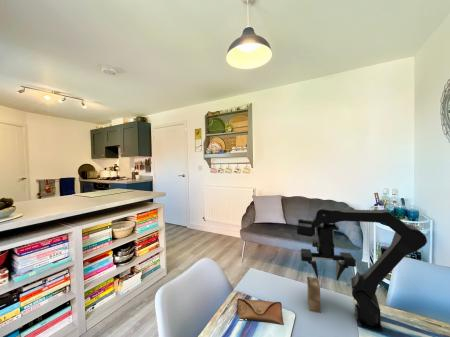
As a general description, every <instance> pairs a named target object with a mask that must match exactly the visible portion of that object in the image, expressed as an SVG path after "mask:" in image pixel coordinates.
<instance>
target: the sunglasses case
mask: <svg viewBox="0 0 450 337" xmlns="http://www.w3.org/2000/svg"><path fill="white" fill-rule="evenodd" d="M236 302H237V303H236V316H237V315H238V317H239V319H244V320H243V321H247V320H252V321H251V322H259V323H260V322H261V323H269V324H270V323H271V324H275V325H276V324H277V325H280V326H281V325H285V322H284V318H283V308H282V302H281V301H269V300H261V299H259V300H258V299H245V298H237V299H236ZM245 319H247V320H245Z"/></svg>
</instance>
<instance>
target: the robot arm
mask: <svg viewBox="0 0 450 337" xmlns="http://www.w3.org/2000/svg"><path fill="white" fill-rule="evenodd" d="M340 222H359V223H362V222H363V223H383V224H385V225H386V226H387V227H389V229H391V230H393V231H394V232H395V233H394V234H393V238H392V241H391V243H390V244H389V246H388V247H387V249H385V250H384V252H383V253H382V254H381V255H380V256H379V257H378V258H377V260H376V261H375V262H374V263H373V264H372V266H371V267H370V268H369V269H368V270H367V271H366V272H365V273H363V274H361V273H360V272H359V271H356V273H355V275H354V276H353V277H351V278H350V286H351V288H350V289H351V295H352V297H353V299H354V300H355V301H356V304H354V311H355V312H354V315H355V317H356V319H357V322H358V323H359V325H360V326H361V327H363V328H367V329H371V330H376V331H381V332H383V331H384V327H383V325H382V322H381V318H382V317H381V315H382V314H381V307H380V304H379V301H378V300H379V299H378V296H377V294H376V293H377V290H378V286H379V285H380V284H381V283H382V281H384V279H385V278H387V276H388V275H389V274H390V273H391V272H392V271H393V270H394V269H395V267H397V265H399V264H400V263H401V261H402V260H403V259H404V258H405V257H406V256H408V255H411V254H413V253H416V252H418V251H419V250H421V249H422V248H423V247H425V246H426V245H427V244H428V239H427V237H426V235H425V233H424V232H422V231H421V230H420V229H418V228H417V227H416V226H415V225H412V224H406V223H405V222H403V220H401V219H399V217H396V216H395V215H394V214H392V212H390V211H389V210H387V209H379V210H378V209H341V208H338V207H333V206H327V205H326V206H325V205H323V206H320V207H318V209H317V212H316V214H315V216H314V218H313V219H303V218H299V219H298V220H297V228H296V233H297V236H298V237H299V236H300V237H306V238H311V246H312V247H313V248H316V251H317V252H312V251H311V249H310V248H309V249H308V248H301V249H300V251H299V253H300V259H301V261H303V262H307V264H309V265H311V267H312V269H313V271H314V273H315V278H318V279H319V272H318V265H317V261H316V259H320V260H326V261H327V260H329V261H335V262H336V268H335V279H336V281H339V279H340V278H341V275H342V274H343V272H344V271H345V270H346V269H349V267H351V268H352V267H354V268H355V267H357V261H356V259H355V257H354V256H353V255H352V253H350V252H341V251H340V252H339V254H337V255H336V254H335V234H334V233H335V231H339V230H340V226H339V225H338V224H337V223H340ZM316 235H317V238H313V237H314V236H316Z"/></svg>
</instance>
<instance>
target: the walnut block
mask: <svg viewBox="0 0 450 337" xmlns="http://www.w3.org/2000/svg"><path fill="white" fill-rule="evenodd" d="M306 278H307V282H306V283H307V284H306V285H307V302H308V303H307V304H308V311H309V312H314V313H320V314H321V313H322V311H321V309H322V308H321V286H320V282H319V277H318V278H317V277H311V276H307V277H306Z"/></svg>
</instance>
